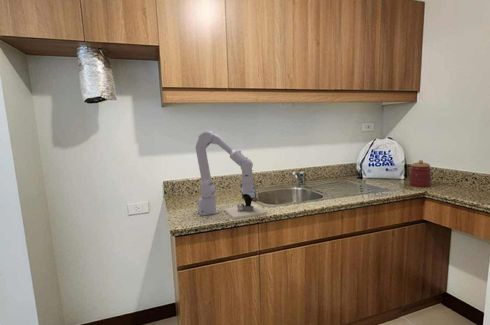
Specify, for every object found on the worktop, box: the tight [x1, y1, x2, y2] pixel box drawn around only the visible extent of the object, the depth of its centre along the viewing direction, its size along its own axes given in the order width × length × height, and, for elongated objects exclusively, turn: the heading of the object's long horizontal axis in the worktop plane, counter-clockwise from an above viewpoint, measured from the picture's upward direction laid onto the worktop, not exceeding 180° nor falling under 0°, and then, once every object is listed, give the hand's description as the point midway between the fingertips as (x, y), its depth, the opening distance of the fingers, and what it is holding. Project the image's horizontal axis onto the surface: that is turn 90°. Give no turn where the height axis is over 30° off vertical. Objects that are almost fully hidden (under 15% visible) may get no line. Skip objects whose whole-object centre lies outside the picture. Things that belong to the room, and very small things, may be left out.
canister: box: [408, 159, 433, 188], centre depth 188 cm, size 13×13×18 cm
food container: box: [239, 182, 258, 202], centre depth 171 cm, size 12×6×10 cm, turn 44°
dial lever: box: [236, 202, 254, 211], centre depth 143 cm, size 9×4×3 cm, turn 66°
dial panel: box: [223, 203, 267, 221], centre depth 145 cm, size 18×16×1 cm
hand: (248, 207), depth 145 cm, fingers closed, pressing on dial lever
